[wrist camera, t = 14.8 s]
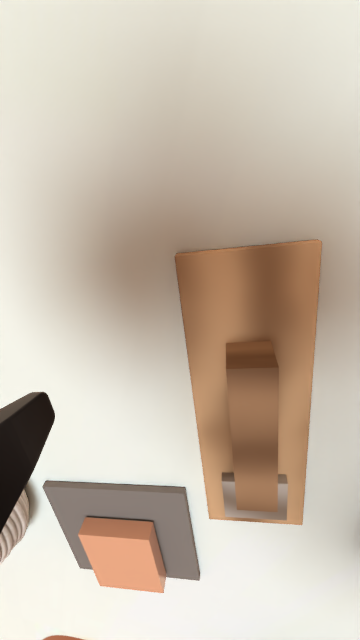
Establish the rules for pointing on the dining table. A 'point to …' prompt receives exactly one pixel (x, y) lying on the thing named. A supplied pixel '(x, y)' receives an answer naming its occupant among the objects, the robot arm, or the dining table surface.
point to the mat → (129, 518)
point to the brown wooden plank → (254, 434)
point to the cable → (14, 527)
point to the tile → (124, 553)
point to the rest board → (249, 326)
